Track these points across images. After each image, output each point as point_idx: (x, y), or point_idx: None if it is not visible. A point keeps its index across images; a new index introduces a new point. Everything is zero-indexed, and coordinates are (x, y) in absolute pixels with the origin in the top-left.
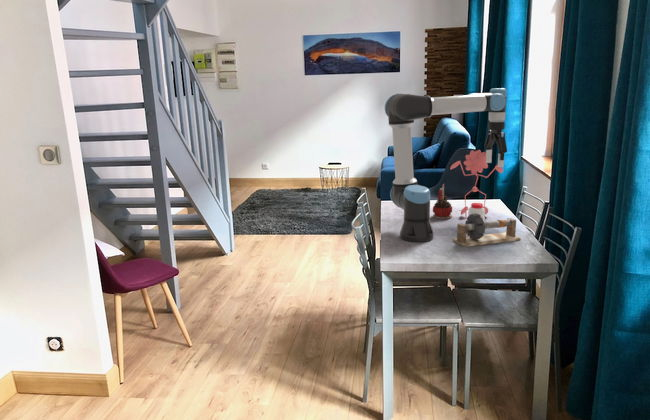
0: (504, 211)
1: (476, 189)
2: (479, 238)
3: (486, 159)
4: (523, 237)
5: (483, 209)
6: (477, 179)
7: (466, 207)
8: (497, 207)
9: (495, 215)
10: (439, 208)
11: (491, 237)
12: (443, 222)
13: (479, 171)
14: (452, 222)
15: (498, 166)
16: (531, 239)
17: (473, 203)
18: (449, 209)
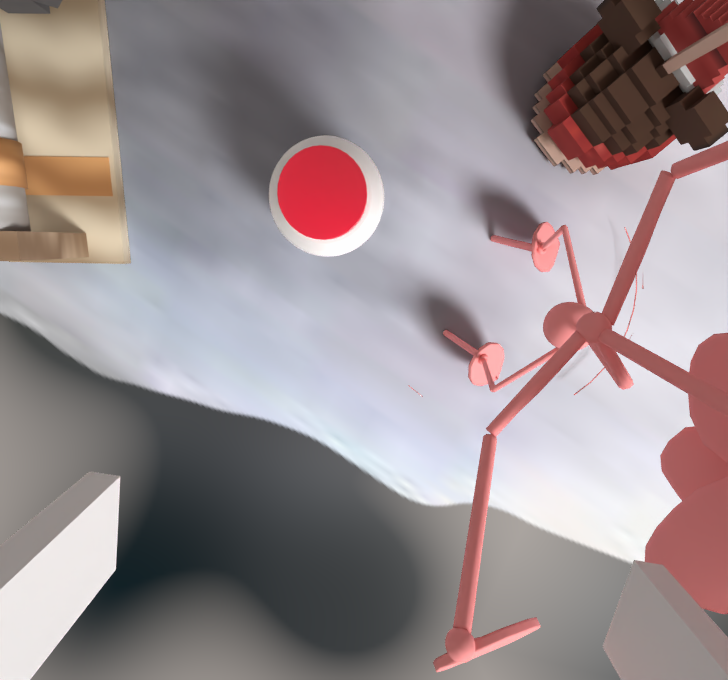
0: (532, 518)
1: (547, 329)
2: (4, 10)
3: (681, 620)
4: (56, 304)
5: (280, 224)
6: (610, 373)
7: (534, 251)
8: (624, 537)
9: (482, 430)
10: (591, 29)
11: (49, 118)
12: (481, 54)
13: (679, 441)
14: (457, 111)
15: (82, 481)
16: (16, 317)
17: (350, 177)
18: (563, 120)
